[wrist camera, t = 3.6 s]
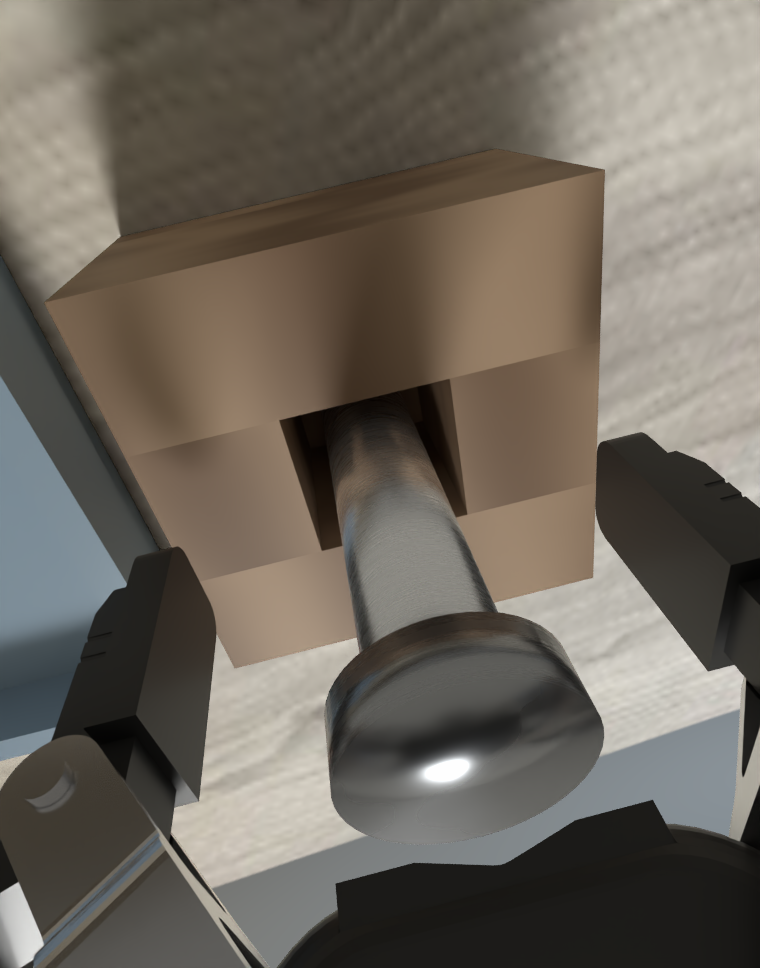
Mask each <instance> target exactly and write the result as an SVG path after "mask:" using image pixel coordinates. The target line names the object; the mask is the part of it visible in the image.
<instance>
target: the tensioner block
mask: <svg viewBox="0 0 760 968" xmlns="http://www.w3.org/2000/svg"><path fill="white" fill-rule="evenodd" d="M604 181H605V170H603V169H598V168H593V167H588V166H583V165H578V164H572V163H567V162H562V161H557V160H552V159H546V158H541V157H536V156H531V155H526V154H520V153H515V152H510V151H505V150H500V149H492V150H488V151H484V152H480V153H475V154H471V155H467V156H463V157H458V158H454V159H450V160H446V161H441V162H437V163H433V164H429V165H424V166H420V167H416V168H412V169H407V170H403V171H399V172H395V173H390V174H386V175H382V176H378V177H373V178H369V179H365V180H361V181H356V182H352V183H348V184H344V185H339V186H335V187H331V188H327V189H322V190H318V191H314V192H310V193H305V194H301V195H297V196H292V197H288V198H284V199H280V200H275V201H271V202H267V203H263V204H258V205H254V206H250V207H246V208H241V209H237V210H233V211H229V212H224V213H220V214H216V215H212V216H207V217H203V218H199V219H195V220H190V221H186V222H182V223H178V224H173V225H169V226H165V227H161V228H156V229H152V230H148V231H144V232H139V233H135V234H131V235H127V236H122V237H120V238H118V239H117V240H116V241H115V242H114V243H113V244H111V245H110V246H109V247H108V248H107V249H106V250H105V251H103V252H102V253H101V254H100V255H99V256H98V257H96V258H95V259H94V260H93V261H92V262H91V263H89V264H88V265H87V266H86V267H85V268H84V269H82V270H81V271H80V272H79V273H78V274H77V275H75V276H74V277H73V278H72V279H71V280H70V281H69V282H67V283H66V284H65V285H64V286H63V287H62V288H60V289H59V290H58V291H57V292H56V293H55V294H53V295H52V296H51V297H50V298H49V299H48V300H46V301H45V302H44V304H45V306H46V308H47V310H48V311H49V313H50V315H51V317H52V319H53V321H54V323H55V325H56V327H57V329H58V331H59V333H60V334H61V336H62V338H63V340H64V342H65V344H66V346H67V348H68V350H69V352H70V354H71V355H72V357H73V359H74V361H75V363H76V365H77V367H78V369H79V371H80V373H81V375H82V377H83V378H84V380H85V382H86V384H87V386H88V388H89V390H90V392H91V394H92V396H93V398H94V400H95V401H96V403H97V405H98V407H99V409H100V411H101V413H102V415H103V417H104V419H105V421H106V423H107V424H108V426H109V428H110V430H111V432H112V434H113V436H114V438H115V440H116V442H117V444H118V446H119V447H120V449H121V451H122V453H123V455H124V457H125V459H126V461H127V463H128V465H129V467H130V469H131V470H132V472H133V474H134V476H135V478H136V480H137V482H138V484H139V486H140V488H141V490H142V491H143V493H144V495H145V497H146V499H147V501H148V503H149V505H150V507H151V509H152V511H153V513H154V514H155V516H156V518H157V520H158V522H159V524H160V526H161V528H162V530H163V532H164V534H165V536H166V537H167V539H168V541H169V543H170V545H171V547H176V546H178V547H180V548H181V549H182V550H183V551H184V552H185V554H186V556H187V558H188V560H189V562H190V564H191V566H192V568H193V569H194V571H195V573H196V575H197V577H198V579H199V581H200V583H201V585H202V587H203V589H204V591H205V593H206V595H207V597H208V599H209V601H210V603H211V606H212V608H213V612H214V616H215V621H216V633H217V635H218V637H219V639H220V641H221V643H222V645H223V647H224V649H225V650H226V652H227V654H228V656H229V658H230V660H231V662H232V664H233V666H234V668H238V667H242V666H246V665H250V664H254V663H258V662H262V661H266V660H270V659H274V658H278V657H282V656H286V655H290V654H294V653H297V652H301V651H305V650H309V649H313V648H317V647H321V646H325V645H329V644H333V643H337V642H341V641H345V640H349V639H353V638H357V634H356V628H355V621H354V615H353V609H352V602H351V596H350V590H349V584H348V577H347V571H346V565H345V558H344V552H343V546H342V539H341V533H340V527H339V521H338V514H337V508H336V502H335V495H334V489H333V483H332V476H331V470H330V464H329V458H328V451H327V445H326V439H325V432H324V426H323V420H322V413H321V410H323V409H327V408H331V407H335V406H340V405H344V404H348V403H352V402H356V401H360V400H364V399H368V398H372V397H376V396H381V395H385V394H389V393H393V392H397V391H400V393H401V395H402V397H403V400H404V402H405V404H406V406H407V409H408V411H409V413H410V415H411V418H412V420H413V422H414V424H415V427H416V429H417V431H418V433H419V436H420V438H421V440H422V442H423V445H424V447H425V449H426V451H427V454H428V456H429V458H430V460H431V463H432V465H433V467H434V469H435V472H436V474H437V476H438V478H439V481H440V483H441V485H442V487H443V490H444V492H445V494H446V496H447V499H448V501H449V503H450V505H451V508H452V510H453V512H454V514H455V517H456V519H457V521H458V523H459V526H460V528H461V530H462V532H463V535H464V537H465V539H466V541H467V543H468V546H469V548H470V550H471V552H472V555H473V557H474V559H475V561H476V564H477V566H478V568H479V570H480V573H481V575H482V577H483V579H484V582H485V584H486V586H487V588H488V591H489V593H490V595H491V597H492V600H493V602H494V603H495V602H499V601H502V600H506V599H510V598H514V597H518V596H522V595H526V594H530V593H534V592H538V591H542V590H546V589H550V588H554V587H558V586H562V585H566V584H569V583H573V582H577V581H581V580H585V579H589V578H593V562H594V527H595V492H596V458H597V423H598V388H599V354H600V319H601V285H602V250H603V215H604Z"/></svg>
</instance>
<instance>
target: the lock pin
mask: <svg viewBox="0 0 760 968" xmlns="http://www.w3.org/2000/svg"><path fill="white" fill-rule="evenodd" d="M321 413H322V420H323V426H324V432H325V439H326V445H327V451H328V458H329V464H330V470H331V476H332V483H333V489H334V495H335V502H336V508H337V514H338V521H339V527H340V533H341V539H342V546H343V552H344V558H345V565H346V571H347V577H348V584H349V590H350V596H351V602H352V609H353V615H354V621H355V628H356V634H357V640H358V647H359V653H360V654H358V655H357V656H356V657H355V658H354V659H353V660H352V661H351V662H350V663H349V664H348V665H347V666H346V667H345V668H344V669H343V670H342V672H341V673H340V674H339V676H338V677H337V678H336V680H335V682H334V684H333V685H332V687H331V689H330V691H329V694H328V697H327V700H326V704H325V711H324V716H325V729H326V741H327V752H328V764H329V776H330V788H331V798H332V801H333V804H334V807H335V809H336V810H337V812H338V814H339V815H340V816H341V817H342V819H343V820H344V821H345V822H346V823H347V824H349V825H350V826H352V827H353V828H354V829H356V830H358V831H360V832H362V833H364V834H366V835H368V836H371V837H375V838H377V839H381V840H385V841H389V842H395V843H403V844H419V845H422V844H442V843H451V842H458V841H464V840H469V839H473V838H477V837H481V836H485V835H489V834H492V833H495V832H499V831H501V830H504V829H507V828H509V827H512V826H514V825H517V824H519V823H521V822H523V821H526V820H528V819H530V818H532V817H534V816H536V815H538V814H540V813H541V812H543V811H544V810H546V809H548V808H550V807H551V806H553V805H554V804H556V803H557V802H558V801H560V800H561V799H563V798H564V797H565V796H567V795H568V794H569V793H570V792H571V791H572V790H573V789H575V788H576V787H577V786H578V785H579V784H580V782H582V781H583V780H584V779H585V777H586V776H587V775H588V773H589V772H590V771H591V769H592V768H593V766H594V765H595V763H596V761H597V759H598V758H599V755H600V752H601V750H602V747H603V740H604V727H603V724H602V720H601V717H600V715H599V713H598V712H597V710H596V708H595V706H594V704H593V702H592V700H591V699H590V697H589V695H588V693H587V691H586V689H585V687H584V686H583V684H582V682H581V680H580V678H579V676H578V674H577V672H576V671H575V669H574V667H573V665H572V663H571V661H570V659H569V658H568V656H567V654H566V652H565V650H564V649H563V647H562V645H561V643H560V642H559V641H558V640H557V639H556V638H555V637H554V635H553V634H551V633H550V632H549V631H547V630H546V629H545V628H543V627H542V626H540V625H538V624H536V623H534V622H532V621H530V620H527V619H524V618H521V617H518V616H514V615H509V614H505V613H498V611H497V609H496V606H495V604H494V602H493V600H492V597H491V595H490V593H489V591H488V588H487V586H486V584H485V582H484V579H483V577H482V575H481V573H480V570H479V568H478V566H477V564H476V561H475V559H474V557H473V555H472V552H471V550H470V548H469V546H468V543H467V541H466V539H465V537H464V535H463V532H462V530H461V528H460V526H459V523H458V521H457V519H456V517H455V514H454V512H453V510H452V508H451V505H450V503H449V501H448V499H447V496H446V494H445V492H444V490H443V487H442V485H441V483H440V481H439V478H438V476H437V474H436V472H435V469H434V467H433V465H432V463H431V460H430V458H429V456H428V454H427V451H426V449H425V447H424V445H423V442H422V440H421V438H420V436H419V433H418V431H417V429H416V427H415V424H414V422H413V420H412V418H411V415H410V413H409V411H408V409H407V406H406V404H405V402H404V400H403V397H402V395H401V393H400V391H397V392H393V393H389V394H385V395H381V396H376V397H372V398H368V399H364V400H360V401H356V402H352V403H348V404H344V405H340V406H335V407H331V408H327V409H323V410H321Z"/></svg>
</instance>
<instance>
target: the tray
mask: <svg viewBox="0 0 760 968" xmlns="http://www.w3.org/2000/svg"><path fill="white" fill-rule="evenodd" d="M156 551H160V550H159V548H158V546H157V544H156V542H155V540H154V539H153V537H152V535H151V533H150V531H149V529H148V527H147V526H146V524H145V522H144V520H143V518H142V516H141V515H140V513H139V511H138V509H137V507H136V505H135V503H134V502H133V500H132V498H131V496H130V494H129V492H128V490H127V489H126V487H125V485H124V483H123V481H122V479H121V477H120V476H119V474H118V472H117V470H116V468H115V466H114V464H113V463H112V461H111V459H110V457H109V455H108V453H107V452H106V450H105V448H104V446H103V444H102V442H101V440H100V439H99V437H98V435H97V433H96V431H95V429H94V427H93V426H92V424H91V422H90V420H89V418H88V416H87V414H86V413H85V411H84V409H83V407H82V405H81V403H80V401H79V400H78V398H77V396H76V394H75V392H74V390H73V389H72V387H71V385H70V383H69V381H68V379H67V377H66V376H65V374H64V372H63V370H62V368H61V366H60V364H59V363H58V361H57V359H56V357H55V355H54V353H53V351H52V350H51V348H50V346H49V344H48V342H47V340H46V338H45V337H44V335H43V333H42V331H41V329H40V327H39V325H38V324H37V322H36V320H35V318H34V316H33V314H32V313H31V311H30V309H29V307H28V305H27V303H26V301H25V300H24V298H23V296H22V294H21V292H20V290H19V288H18V287H17V285H16V283H15V281H14V279H13V277H12V275H11V274H10V272H9V270H8V268H7V266H6V264H5V262H4V261H3V259H2V257H1V255H0V761H2V760H6V759H10V758H14V757H18V756H22V755H26V754H30V753H33V752H34V751H36V750H37V749H38V748H40V747H42V746H43V745H45V744H47V743H49V742H51V740H52V737H53V734H54V731H55V728H56V725H57V723H58V720H59V717H60V714H61V711H62V708H63V705H64V702H65V700H66V697H67V694H68V691H69V688H70V685H71V682H72V679H73V677H74V674H75V671H76V668H77V665H78V663H81V659H80V656H81V654H82V651H83V648H84V645H85V643H86V642H88V639H87V636H88V633H89V631H90V628H91V625H92V622H93V619H94V616H95V614H96V612H97V611H98V610H99V608H100V607H101V606H102V605H103V603H104V602H105V601H106V599H107V598H108V597H109V596H110V594H111V593H112V592H113V591H114V590H116V589H120V588H124V587H126V585H127V582H128V579H129V575H130V572H131V569H132V565H133V562H134V560H135V558H136V557H137V556H140V555H144V554H148V553H152V552H156Z"/></svg>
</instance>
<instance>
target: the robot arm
mask: <svg viewBox="0 0 760 968" xmlns="http://www.w3.org/2000/svg"><path fill="white" fill-rule="evenodd" d="M595 509H596V516H597V520H598V523H599V526H600V529H601V531H602V533H603V535H604V537H605V538H606V539H607V541H608V542H609V543H610V545H611V546H612V547H613V549H614V550H615V551H616V552H617V554H618V555H619V556H620V558H621V559H622V560H623V562H624V563H625V564H626V565H627V567H628V568H629V569H630V571H631V572H632V573H633V574H634V576H635V577H636V578H637V580H638V581H639V582H640V584H641V585H642V586H643V587H644V589H645V590H646V591H647V593H648V594H649V595H650V597H651V598H652V599H653V600H654V602H655V603H656V604H657V606H658V607H659V608H660V610H661V611H662V612H663V613H664V615H665V616H666V617H667V619H668V620H669V621H670V622H671V624H672V625H673V626H674V628H675V629H676V630H677V632H678V633H679V634H680V635H681V637H682V638H683V639H684V641H685V642H686V643H687V645H688V646H689V647H690V648H691V650H692V651H693V652H694V654H695V655H696V656H697V658H698V659H699V660H700V661H701V663H702V664H703V665H704V667H705V668H706V669H707V671H712V670H715V669H719V668H723V667H727V666H731V665H735V666H736V667H737V668H738V669H739V671H740V672H741V673H742V674H743V675H744V679H743V683H742V688H741V703H740V721H739V722H740V723H739V741H738V759H737V776H736V792H735V800H734V807H733V812H732V817H731V823H730V830H729V837H727V836H725V835H722V834H719V833H715V832H712V831H708V830H704V829H701V828H697V827H690V826H683V825H677V824H666V823H665V821H664V819H663V818H662V816H661V814H660V812H659V810H658V809H657V807H656V805H655V803H654V801H653V800H651V801H647V802H643V803H639V804H635V805H632V806H628V807H624V808H620V809H616V810H613V811H609V812H605V813H601V814H598V815H594V816H590V817H586V818H583V819H579V820H575V821H574V822H572V823H570V824H569V825H567V826H566V827H564V828H562V829H561V830H560V831H558V832H556V833H554V834H553V835H551V836H550V837H548V838H546V839H545V840H543V841H542V842H540V843H538V844H537V845H535V846H534V847H532V848H530V849H529V850H527V851H526V852H524V853H522V854H521V855H519V856H518V857H516V858H514V859H513V860H511V861H509V862H507V863H505V864H502V865H494V866H491V865H462V864H432V863H412V864H408V865H405V866H401V867H397V868H393V869H389V870H386V871H382V872H378V873H374V874H371V875H367V876H363V877H360V878H356V879H352V880H348V881H344V882H341V883H336V894H337V907H338V910H337V911H335V912H333V913H332V914H330V915H329V916H327V917H326V918H324V919H323V920H322V921H321V922H319V923H318V924H317V925H316V926H314V927H313V928H312V929H311V930H309V931H308V933H306V934H305V936H304V937H302V938H301V940H300V941H299V942H298V943H297V944H296V945H295V946H294V947H293V948H292V949H291V950H290V951H289V953H288V954H287V955H286V957H285V958H284V959H283V960H282V962H281V963H280V964H279V965H278V967H277V968H760V508H759V507H758V506H757V505H755V504H754V503H753V502H752V501H751V500H749V499H748V498H747V497H742V495H741V492H740V491H739V490H737V489H736V488H735V487H734V486H732V485H731V484H730V483H729V482H728V483H726V482H725V479H724V478H723V477H722V476H720V475H719V474H718V473H717V472H716V471H714V470H713V469H712V468H711V467H709V466H708V465H707V464H706V463H705V462H702V461H700V460H697V459H695V458H693V457H690V456H688V455H685V454H683V453H680V452H678V451H674V452H670V453H667V452H666V451H665V450H664V449H663V448H662V447H660V446H659V445H658V444H657V443H656V442H655V441H654V440H652V439H651V438H650V437H649V436H648V435H646V434H645V433H642V432H640V433H635V434H631V435H627V436H623V437H619V438H615V439H611V440H607V441H603V442H601V443H600V444H599V446H598V449H597V467H596V501H595ZM87 639H88V642H86V643H85V645H84V648H83V651H82V654H81V656H80V659H81V663H78V665H77V668H76V671H75V674H74V677H73V679H72V682H71V685H70V688H69V691H68V694H67V697H66V700H65V702H64V705H63V708H62V711H61V714H60V717H59V720H58V723H57V725H56V728H55V731H54V734H53V737H52V740H51V742H49V743H47V744H45V745H43V746H42V747H40V748H38V749H37V750H36V751H34V752H33V753H31V754H30V755H29V756H28V757H27V758H25V759H24V760H23V761H22V762H21V763H20V764H19V765H18V766H17V767H16V768H15V770H14V771H13V772H12V773H11V775H10V776H9V777H8V779H7V780H6V782H5V783H4V785H3V786H2V788H1V790H0V968H33V966H34V968H270V967H269V966H268V964H267V963H266V962H265V960H264V959H263V958H262V957H261V955H260V954H259V952H258V951H257V950H256V948H255V947H254V946H253V944H252V943H251V942H250V941H249V939H248V938H247V937H246V936H245V934H244V933H243V932H242V931H241V929H240V928H239V926H238V925H237V924H236V922H235V921H234V919H233V918H232V917H231V915H230V914H229V913H228V911H227V910H226V908H225V907H224V905H223V904H222V903H221V901H220V900H219V899H218V897H217V896H216V894H215V893H214V891H213V890H212V888H211V887H210V886H209V884H208V883H207V881H206V880H205V879H204V877H203V876H202V874H201V873H200V872H199V870H198V869H197V867H196V866H195V864H194V863H193V862H192V860H191V859H190V857H189V856H188V855H187V853H186V852H185V850H184V849H183V848H182V846H181V845H180V843H179V842H178V841H177V839H176V838H175V836H174V835H173V834H172V833H171V827H172V820H173V812H174V808H175V807H178V806H182V805H186V804H190V803H194V802H198V801H199V795H200V786H201V776H202V767H203V757H204V748H205V738H206V729H207V719H208V710H209V700H210V691H211V681H212V672H213V662H214V653H215V643H216V621H215V616H214V612H213V608H212V606H211V603H210V601H209V599H208V597H207V595H206V593H205V591H204V589H203V587H202V585H201V583H200V581H199V579H198V577H197V575H196V573H195V571H194V569H193V568H192V566H191V564H190V562H189V560H188V558H187V556H186V554H185V552H184V551H183V550H182V549H181V548H180V547H178V546H176V547H172V548H168V549H164V550H160V551H156V552H152V553H148V554H144V555H140V556H137V557H136V558H135V560H134V562H133V565H132V569H131V572H130V575H129V579H128V582H127V585H126V587H124V588H120V589H116V590H114V591H113V592H112V593H111V594H110V596H109V597H108V598H107V599H106V601H105V602H104V603H103V605H102V606H101V607H100V608H99V610H98V611H97V612H96V614H95V616H94V619H93V622H92V625H91V628H90V631H89V633H88V636H87Z"/></svg>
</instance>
